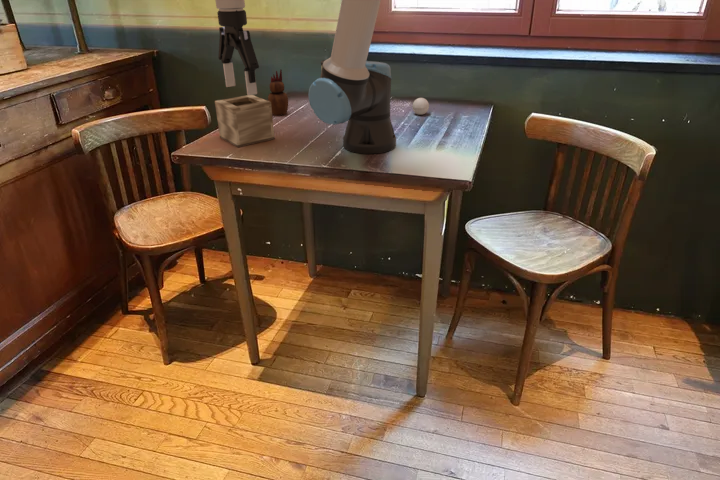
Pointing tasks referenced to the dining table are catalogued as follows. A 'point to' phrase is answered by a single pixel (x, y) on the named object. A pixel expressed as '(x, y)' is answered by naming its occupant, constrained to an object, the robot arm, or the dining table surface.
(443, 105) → the dining table surface
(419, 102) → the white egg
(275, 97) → the wooden figurine
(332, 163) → the dining table surface
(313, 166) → the dining table surface
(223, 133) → the drop box
